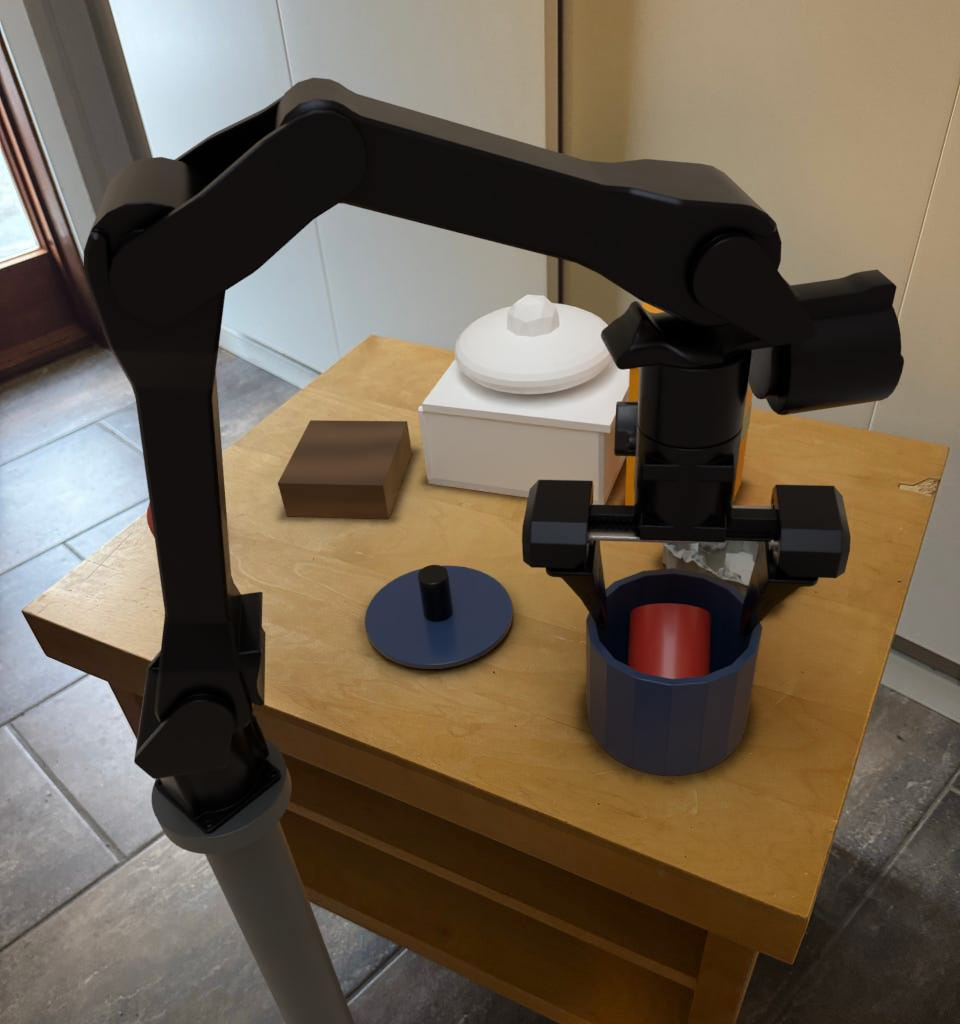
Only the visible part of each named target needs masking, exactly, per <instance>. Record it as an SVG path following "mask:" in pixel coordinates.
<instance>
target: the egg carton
mask: <svg viewBox="0 0 960 1024" xmlns="http://www.w3.org/2000/svg"><path fill="white" fill-rule="evenodd" d="M661 544H662V545H663V546H662V547H663V549H662V563H663V564H664V565H665V566H666V568H665V569H671V568H674V569H681V570H687V571H693V572H700V573H705V574H708V575H710V576H713V577H715V578H717V579H719V580H721V581H724V582H726V583H728V584H730V585H733V586H734V587H735V588H736V589H737V590H738V591H740V592H741V593H742V594H743V595H744V596H746V592H747V588H748V585H749V581H750V578H751V574H752V571H753V567H754V564H755V560H756V556H757V552H758V545H759V541H728V540H725V542H699V543H695V544H692V543H661Z"/></svg>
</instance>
